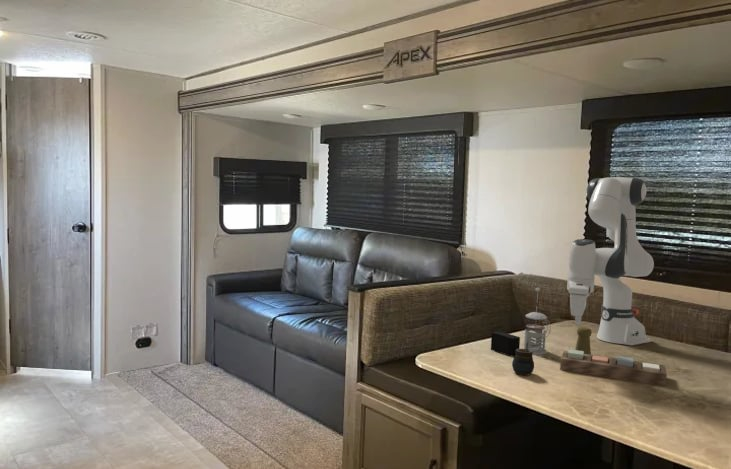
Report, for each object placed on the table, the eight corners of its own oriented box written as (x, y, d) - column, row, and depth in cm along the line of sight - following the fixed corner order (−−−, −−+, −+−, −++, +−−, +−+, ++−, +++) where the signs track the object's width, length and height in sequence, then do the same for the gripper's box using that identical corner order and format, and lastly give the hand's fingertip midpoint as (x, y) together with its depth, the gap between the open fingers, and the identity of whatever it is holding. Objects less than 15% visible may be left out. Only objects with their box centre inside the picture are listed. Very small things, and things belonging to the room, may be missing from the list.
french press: (515, 348, 227) (519, 285, 225) (539, 346, 232) (543, 284, 230) (532, 355, 218) (536, 290, 216) (556, 353, 223) (560, 289, 221)
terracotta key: (591, 365, 200) (591, 358, 200) (592, 362, 205) (592, 355, 205) (607, 368, 198) (607, 361, 198) (607, 364, 203) (608, 357, 203)
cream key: (642, 373, 194) (643, 366, 194) (642, 369, 198) (642, 362, 198) (659, 376, 192) (659, 368, 192) (658, 372, 196) (658, 364, 196)
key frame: (560, 369, 202) (560, 358, 202) (563, 361, 212) (563, 350, 212) (665, 386, 188) (666, 374, 188) (663, 376, 198) (664, 365, 198)
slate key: (616, 366, 197) (617, 359, 197) (617, 362, 202) (617, 355, 201) (632, 369, 195) (633, 361, 195) (632, 365, 200) (633, 358, 199)
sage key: (567, 359, 204) (567, 352, 203) (568, 355, 208) (569, 349, 208) (582, 361, 202) (583, 354, 201) (583, 358, 206) (583, 351, 206)
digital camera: (521, 354, 219) (522, 336, 219) (512, 356, 216) (513, 338, 216) (499, 347, 228) (500, 330, 227) (490, 349, 224) (491, 332, 224)
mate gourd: (510, 375, 194) (512, 345, 194) (512, 368, 201) (514, 340, 201) (532, 378, 192) (534, 348, 191) (534, 371, 199) (536, 343, 198)
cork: (592, 358, 217) (594, 330, 216) (575, 357, 218) (577, 328, 217) (589, 354, 223) (591, 326, 222) (573, 352, 224) (575, 324, 223)
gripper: (573, 280, 213) (570, 317, 214) (568, 288, 195) (565, 328, 196) (591, 282, 211) (589, 319, 212) (588, 290, 192) (585, 331, 193)
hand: (577, 324), depth 204 cm, fingers closed
